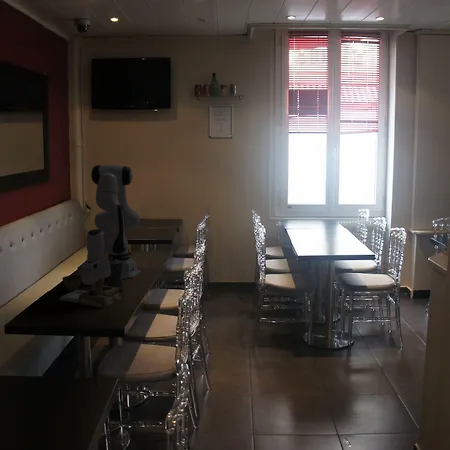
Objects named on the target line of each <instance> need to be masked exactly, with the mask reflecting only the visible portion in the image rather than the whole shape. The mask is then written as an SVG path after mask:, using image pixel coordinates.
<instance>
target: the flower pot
mask: <svg viewBox="0 0 450 450" xmlns="http://www.w3.org/2000/svg"><path fill="white" fill-rule="evenodd" d="M62 282H63V285H64V287H65V289H66V290H67V291H68V292H73V291H76V290H79V289H80V286H81V283H82V275H80V274H70V275H66V276H62Z"/></svg>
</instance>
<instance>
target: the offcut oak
mask: <svg viewBox="0 0 450 450" xmlns="http://www.w3.org/2000/svg"><path fill="white" fill-rule="evenodd" d="M110 291H112V293H113V296H114V295H116V294H118V293H119V289H117V288H112V289H110Z"/></svg>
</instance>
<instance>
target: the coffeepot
mask: <svg viewBox="0 0 450 450" xmlns="http://www.w3.org/2000/svg"><path fill="white" fill-rule="evenodd" d="M115 258H116V257H113V259H110V261H109V260H108V261H109V264H110V269H111V275H110V276H109V278H107V286H108V287H118V288H123V289H124V288H125V287H124V283H123V279H122V277H121V273H122V265H123V261H120V260H115Z"/></svg>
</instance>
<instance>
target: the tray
mask: <svg viewBox="0 0 450 450" xmlns="http://www.w3.org/2000/svg"><path fill="white" fill-rule="evenodd" d="M87 291H88V290H81V289H78V290H76V291H70V292H68V293H66V294H64V295H61V296H60V297H59V298H60V299H59V301H60V302H67V303H75V304H77V303H80V302H79V295H80V294H82V293H84V292H87Z"/></svg>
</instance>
